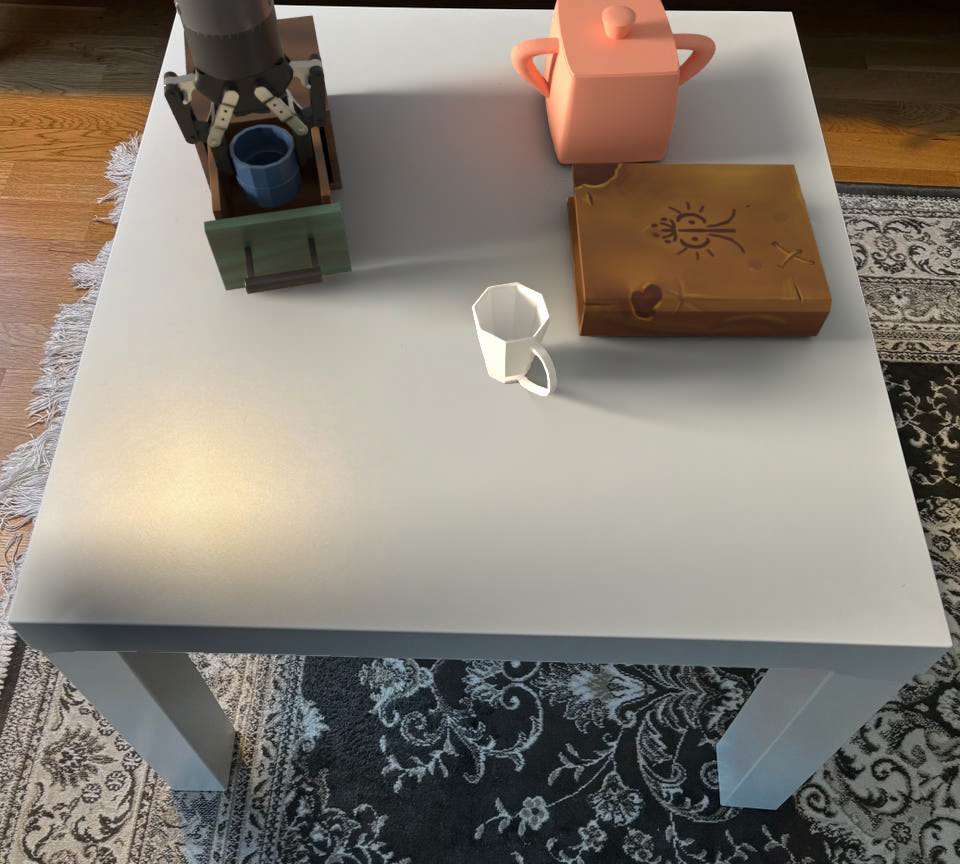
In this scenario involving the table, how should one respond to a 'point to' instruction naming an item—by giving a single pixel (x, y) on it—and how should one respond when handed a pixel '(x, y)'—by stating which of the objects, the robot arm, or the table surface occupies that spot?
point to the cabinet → (297, 46)
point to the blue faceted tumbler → (266, 165)
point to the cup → (514, 334)
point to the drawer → (277, 230)
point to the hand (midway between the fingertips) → (266, 164)
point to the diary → (694, 251)
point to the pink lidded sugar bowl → (611, 78)
